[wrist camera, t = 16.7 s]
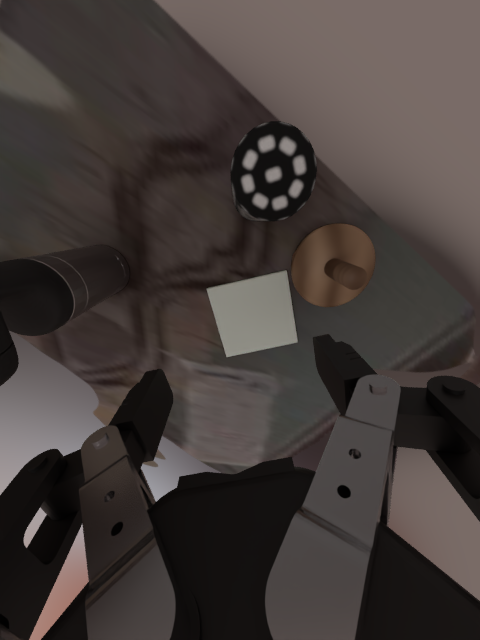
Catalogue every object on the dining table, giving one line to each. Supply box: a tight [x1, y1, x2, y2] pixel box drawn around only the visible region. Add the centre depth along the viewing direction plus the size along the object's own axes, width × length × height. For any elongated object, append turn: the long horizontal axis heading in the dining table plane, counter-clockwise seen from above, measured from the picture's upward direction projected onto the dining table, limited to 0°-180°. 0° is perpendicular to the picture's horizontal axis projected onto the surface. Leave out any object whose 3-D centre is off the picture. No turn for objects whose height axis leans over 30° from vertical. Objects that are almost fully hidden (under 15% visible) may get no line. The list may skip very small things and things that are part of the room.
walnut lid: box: [291, 223, 375, 307], centre depth 37 cm, size 14×14×9 cm
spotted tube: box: [231, 121, 317, 221], centre depth 32 cm, size 8×8×20 cm
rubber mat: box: [207, 270, 298, 357], centre depth 50 cm, size 16×16×1 cm
